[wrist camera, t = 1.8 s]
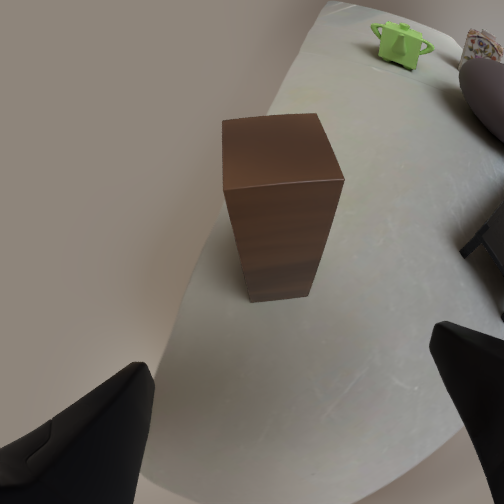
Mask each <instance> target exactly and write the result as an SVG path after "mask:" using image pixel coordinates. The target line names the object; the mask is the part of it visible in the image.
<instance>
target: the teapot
mask: <svg viewBox="0 0 504 504" xmlns="http://www.w3.org/2000/svg"><path fill="white" fill-rule="evenodd" d="M378 27H382V35H380V33H379V31H378V29H377V28H378ZM409 28H410V26H409V25H407V24H404V23H400V25H398V24H395V23H392V22H389V21H388V22H387V23H386V24H385V25H382V24H377V23H374V24H371V29H372V31H373V32H374V34H375V35H376V36H377V37H378V38H379V39H380V40H381V42H380V48H379V54H378V56H380V57H383V58H382V59H383V60H385V61H389V62H390V61H391V60H392V61H395V62H397V63H400V64H402V65H403V67H405V68H406V69H409V70H411V68H412V69H416V65H417V61H418V57H419V55H422V54H427V53H430V52H432V51H433V50H434V46H433V45H432V44H431V43H430V42H428V41H426V40H424V39H422V33H420V32H417V31H414V30H412V29H409ZM422 42H424V43H425V44H427V46H428V47H427V48H426V49H424V50H422V51H420V48H421V44H422Z"/></svg>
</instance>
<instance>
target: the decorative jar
mask: <svg viewBox="0 0 504 504" xmlns="http://www.w3.org/2000/svg"><path fill="white" fill-rule="evenodd" d="M495 39H496V37H495V36H494V35H492V34H491V33H489V32H487V31H486V30H484V29H482V33H480V32H478V31H476V30H474V29H470V30H469V32H468V35H467V39H466V43H465V46H464V49H463V53H462V56H461V60H460V63H459V67H458V70H459V71H460V68H461V67H462V65H463V64H464V63H465V62H467V61H468V60H470V59H474V58H486V59H491V60H495V61H497V62H500V61H501V58H502V55H503V51H504V48H503V47H501V46H500V45H499V44H498V43H496V42H495Z"/></svg>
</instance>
